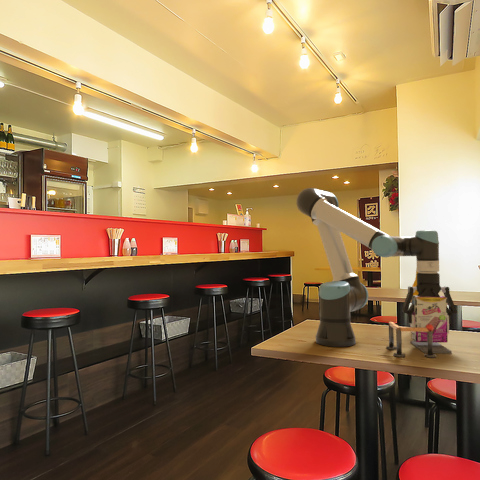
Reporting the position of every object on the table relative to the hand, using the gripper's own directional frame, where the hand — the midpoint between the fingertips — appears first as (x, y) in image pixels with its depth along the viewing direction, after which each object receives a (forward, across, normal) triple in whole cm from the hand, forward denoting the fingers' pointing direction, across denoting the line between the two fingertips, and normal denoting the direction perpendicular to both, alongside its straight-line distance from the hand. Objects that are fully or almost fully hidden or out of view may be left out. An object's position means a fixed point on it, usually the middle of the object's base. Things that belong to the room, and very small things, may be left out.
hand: (429, 332), depth 143 cm
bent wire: (+6, -9, -7) cm, 13 cm away
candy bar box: (+3, 0, 0) cm, 3 cm away
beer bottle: (+6, +7, +28) cm, 29 cm away
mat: (+6, 0, 0) cm, 6 cm away
